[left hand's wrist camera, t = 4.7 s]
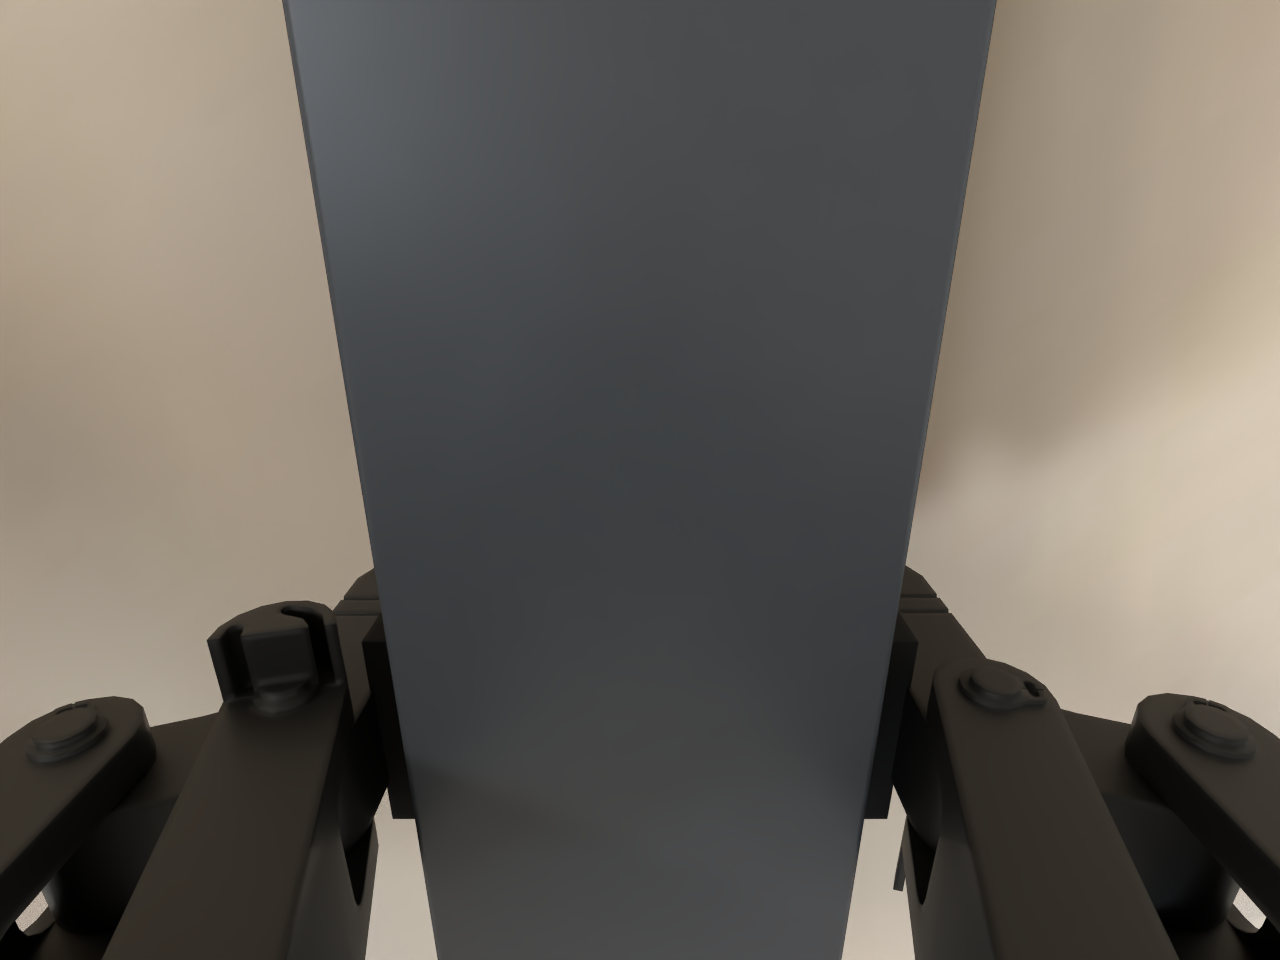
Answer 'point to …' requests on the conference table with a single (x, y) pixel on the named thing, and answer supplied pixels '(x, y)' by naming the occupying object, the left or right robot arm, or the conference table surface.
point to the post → (639, 435)
